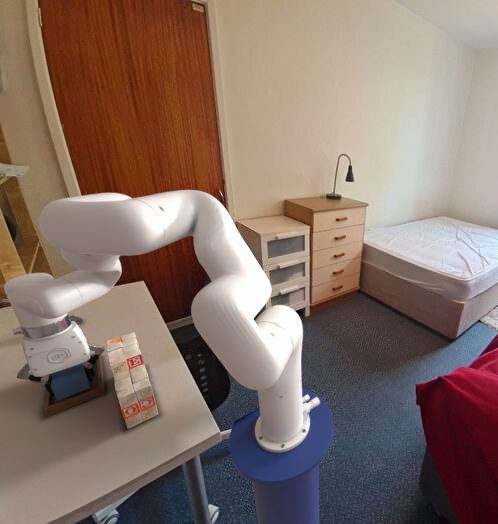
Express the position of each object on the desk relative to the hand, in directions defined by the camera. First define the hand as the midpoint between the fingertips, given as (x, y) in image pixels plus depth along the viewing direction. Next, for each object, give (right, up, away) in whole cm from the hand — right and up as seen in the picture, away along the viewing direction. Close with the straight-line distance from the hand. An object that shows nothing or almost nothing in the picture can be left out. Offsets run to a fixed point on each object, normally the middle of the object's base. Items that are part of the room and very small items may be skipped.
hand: (73, 384), depth 71 cm
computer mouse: (-28, +8, +26) cm, 39 cm away
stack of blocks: (+15, -3, +1) cm, 16 cm away
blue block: (0, -1, 0) cm, 1 cm away
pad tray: (-3, -1, +4) cm, 5 cm away
